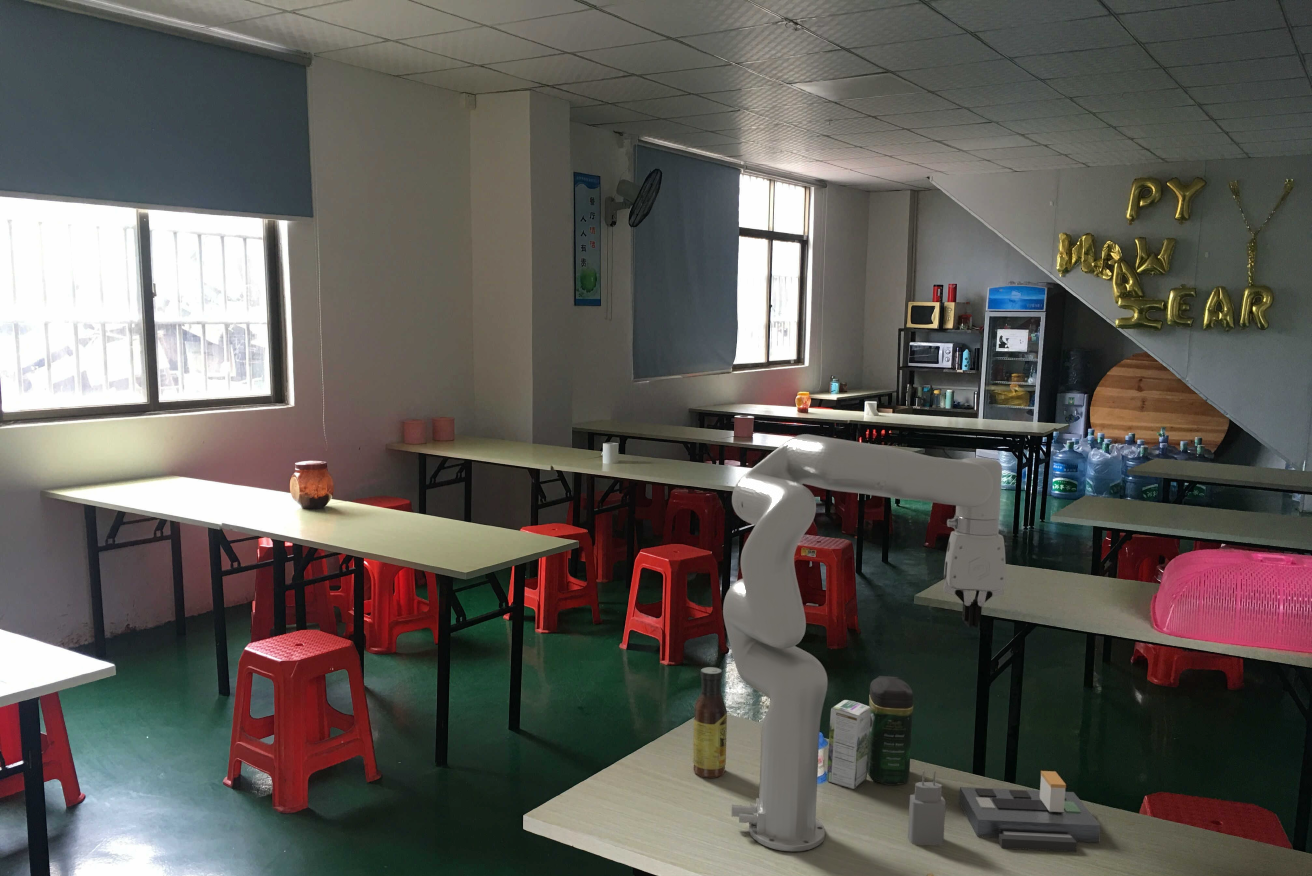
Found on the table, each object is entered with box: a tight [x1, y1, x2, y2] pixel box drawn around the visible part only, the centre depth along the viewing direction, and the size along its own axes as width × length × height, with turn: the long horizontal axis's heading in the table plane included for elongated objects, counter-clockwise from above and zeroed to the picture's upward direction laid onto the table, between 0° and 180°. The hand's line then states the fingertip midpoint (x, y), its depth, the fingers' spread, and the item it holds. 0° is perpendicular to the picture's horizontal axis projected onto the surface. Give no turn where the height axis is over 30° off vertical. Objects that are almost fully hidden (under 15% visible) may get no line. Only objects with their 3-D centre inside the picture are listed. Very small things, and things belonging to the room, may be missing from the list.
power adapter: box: [907, 770, 947, 846], centre depth 162 cm, size 3×5×12 cm, turn 91°
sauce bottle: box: [692, 666, 728, 779], centre depth 185 cm, size 7×6×20 cm
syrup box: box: [826, 699, 871, 790], centre depth 183 cm, size 6×6×14 cm
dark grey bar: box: [998, 831, 1078, 853], centre depth 161 cm, size 12×3×2 cm, turn 87°
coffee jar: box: [867, 675, 914, 786], centre depth 185 cm, size 10×8×19 cm
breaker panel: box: [958, 786, 1101, 843], centre depth 169 cm, size 20×12×3 cm, turn 87°
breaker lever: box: [1039, 770, 1067, 812], centre depth 168 cm, size 2×5×5 cm, turn 177°
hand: (971, 625), depth 178 cm, fingers closed
